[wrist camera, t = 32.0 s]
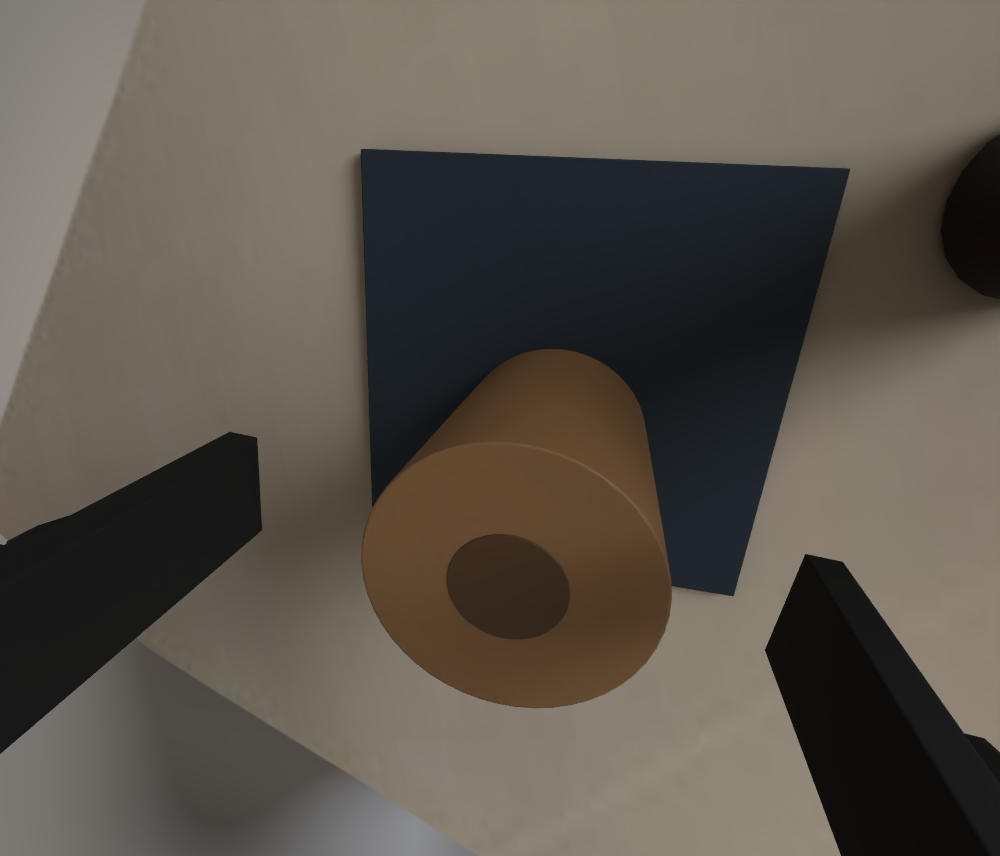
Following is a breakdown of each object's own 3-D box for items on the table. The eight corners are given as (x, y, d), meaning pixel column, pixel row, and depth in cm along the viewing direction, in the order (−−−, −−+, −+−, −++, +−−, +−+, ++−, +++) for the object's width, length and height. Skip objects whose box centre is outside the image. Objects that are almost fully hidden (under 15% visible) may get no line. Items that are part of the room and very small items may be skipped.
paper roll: (643, 738, 16) (702, 468, 12) (365, 677, 17) (352, 422, 14) (631, 529, 27) (660, 358, 23) (462, 503, 28) (468, 339, 25)
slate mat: (376, 529, 31) (372, 534, 30) (365, 150, 23) (360, 148, 23) (731, 590, 27) (733, 596, 27) (845, 170, 20) (851, 168, 20)
